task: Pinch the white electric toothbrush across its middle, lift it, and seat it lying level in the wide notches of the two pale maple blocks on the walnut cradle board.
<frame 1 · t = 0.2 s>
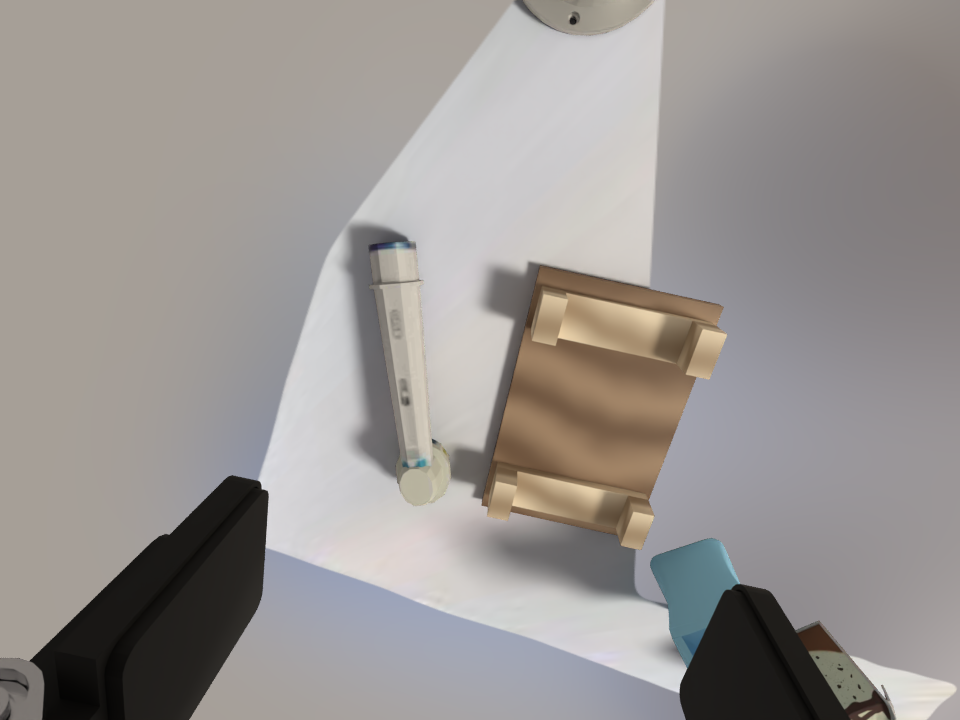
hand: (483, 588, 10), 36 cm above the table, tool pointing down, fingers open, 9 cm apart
white electric toothbrush: (416, 371, 48), on the table
vase: (693, 572, 54), on the table
v block cradle: (589, 410, 48), on the table
food container: (789, 653, 56), on the table
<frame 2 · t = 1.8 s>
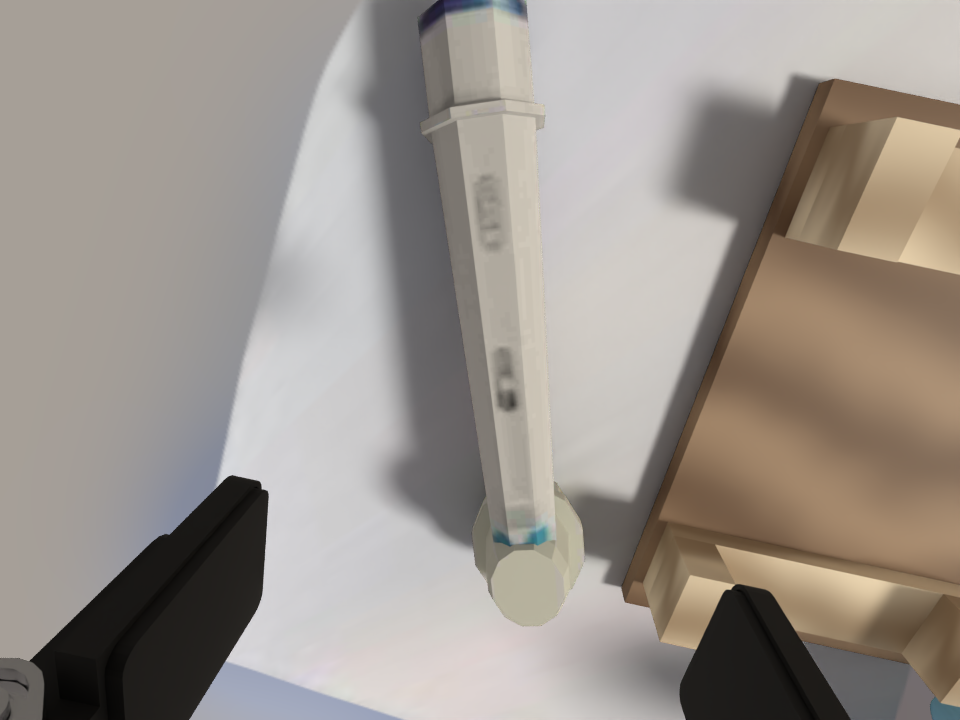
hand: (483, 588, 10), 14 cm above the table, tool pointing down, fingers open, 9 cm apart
white electric toothbrush: (510, 337, 24), on the table
v block cradle: (871, 420, 23), on the table
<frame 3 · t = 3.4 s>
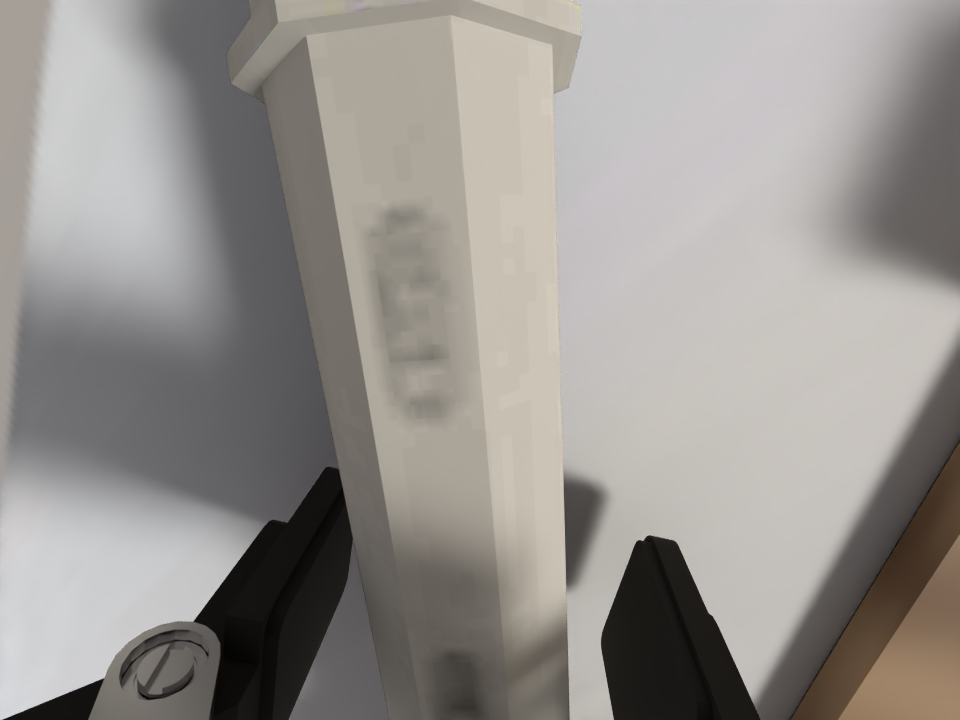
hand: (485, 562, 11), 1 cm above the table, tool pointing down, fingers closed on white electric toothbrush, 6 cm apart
white electric toothbrush: (486, 509, 12), on the table, touching gripper
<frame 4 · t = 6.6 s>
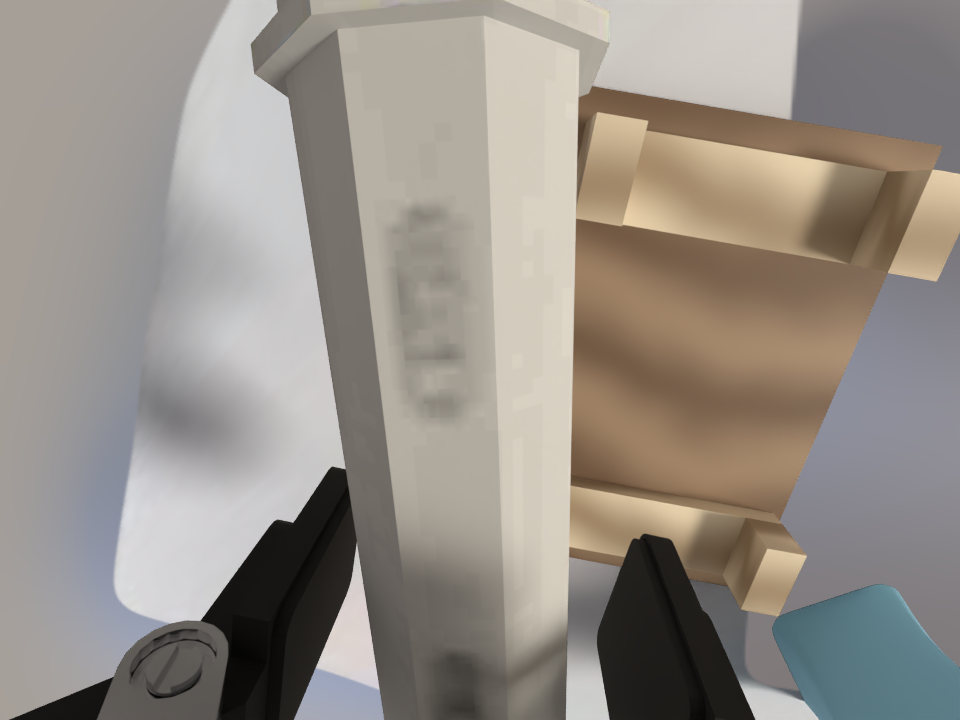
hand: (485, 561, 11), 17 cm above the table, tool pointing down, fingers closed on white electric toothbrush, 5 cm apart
white electric toothbrush: (485, 511, 12), point 16 cm above the table, touching gripper
vase: (845, 640, 32), on the table
v block cradle: (672, 369, 27), on the table
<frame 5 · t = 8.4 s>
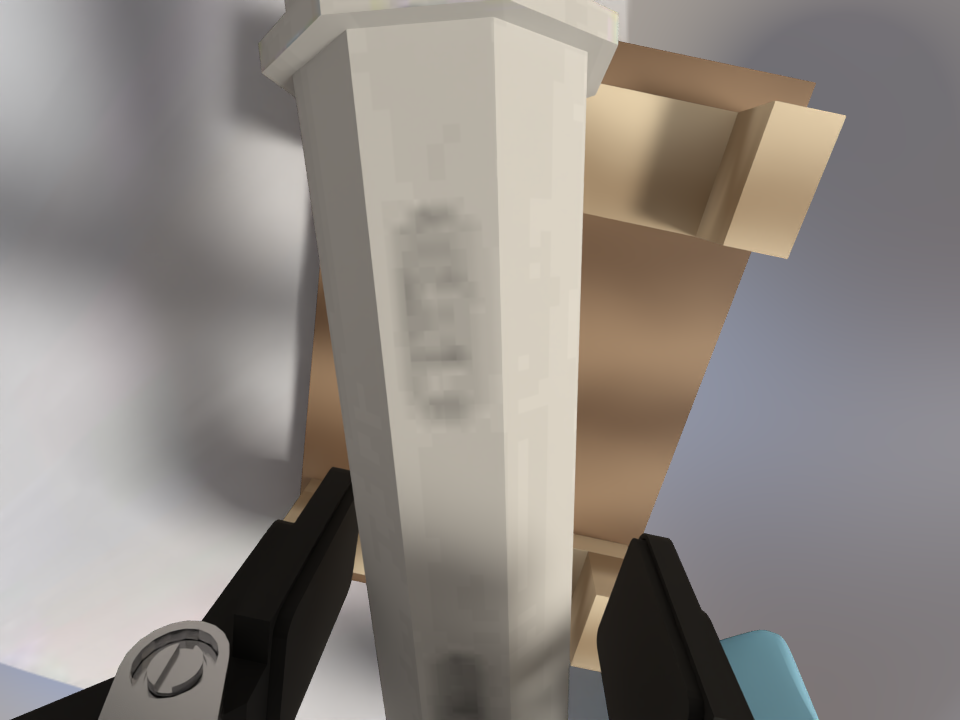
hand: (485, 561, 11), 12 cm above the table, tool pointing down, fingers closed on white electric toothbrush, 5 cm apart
white electric toothbrush: (486, 511, 12), point 10 cm above the table, touching gripper
vase: (725, 691, 27), on the table
v block cradle: (501, 366, 22), on the table
when the fingers open (4 cm above the table, at t = 10.1 s): white electric toothbrush drops 1 cm, resting on v block cradle.
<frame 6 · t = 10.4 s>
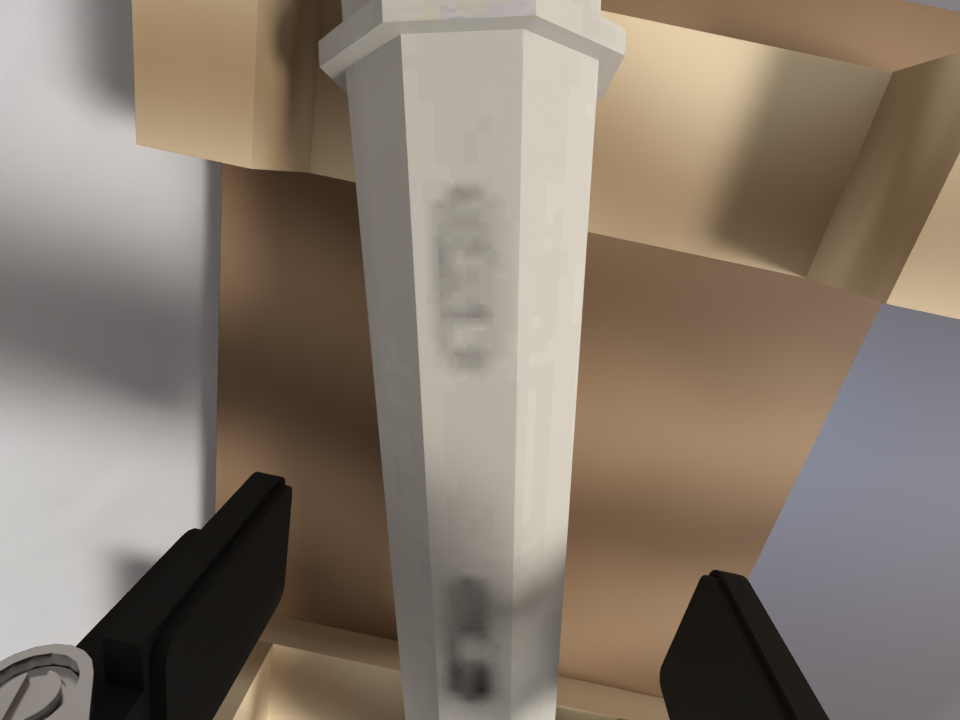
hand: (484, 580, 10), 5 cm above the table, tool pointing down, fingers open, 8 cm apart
white electric toothbrush: (489, 476, 13), point 2 cm above the table, touching v block cradle
v block cradle: (494, 455, 15), on the table
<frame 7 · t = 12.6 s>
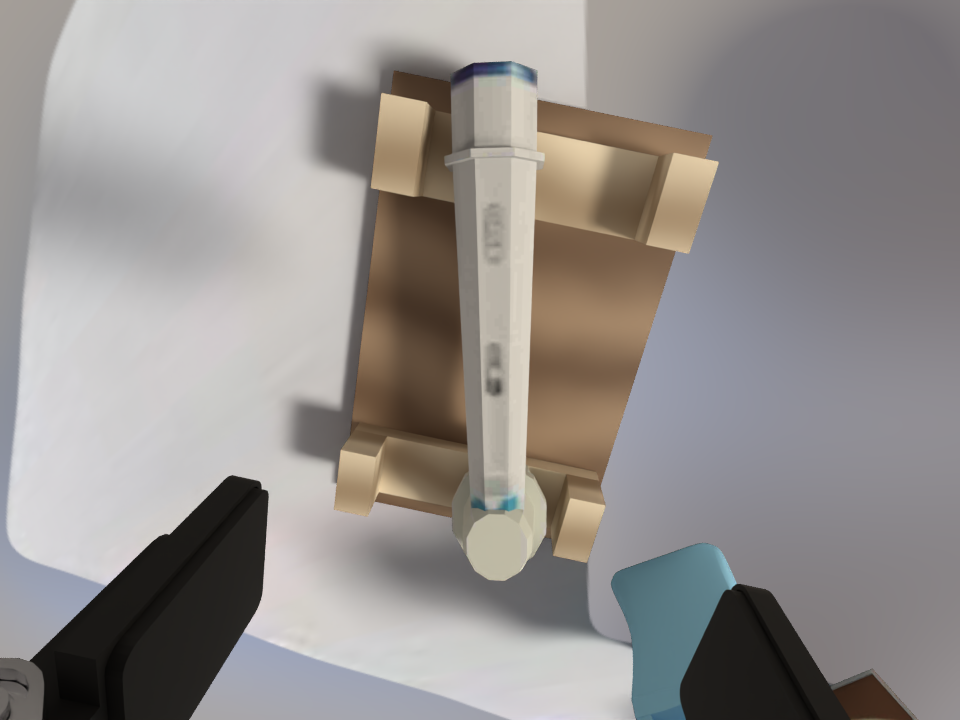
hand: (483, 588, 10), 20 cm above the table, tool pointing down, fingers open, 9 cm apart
white electric toothbrush: (499, 338, 28), point 2 cm above the table, touching v block cradle
vase: (678, 596, 35), on the table
v block cradle: (501, 336, 30), on the table
food container: (827, 717, 37), on the table
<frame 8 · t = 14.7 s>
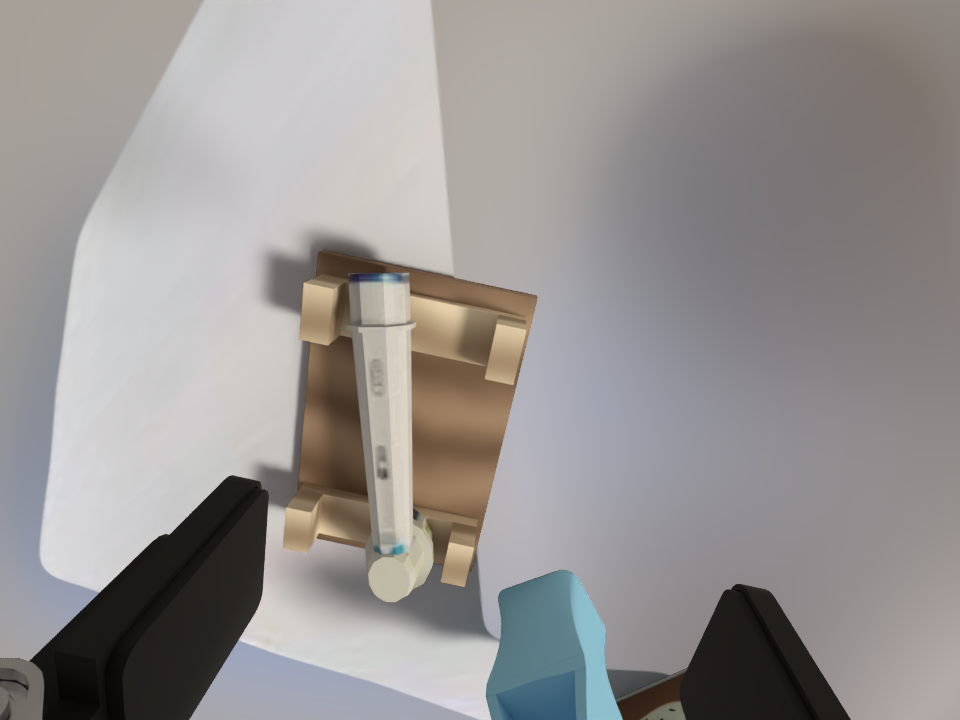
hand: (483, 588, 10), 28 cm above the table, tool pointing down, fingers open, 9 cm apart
white electric toothbrush: (399, 428, 39), point 2 cm above the table, touching v block cradle
vase: (549, 609, 46), on the table
v block cradle: (405, 422, 41), on the table
food container: (669, 700, 49), on the table
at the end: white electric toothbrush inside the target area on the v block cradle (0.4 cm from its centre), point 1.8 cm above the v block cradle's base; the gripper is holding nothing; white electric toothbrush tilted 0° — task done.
